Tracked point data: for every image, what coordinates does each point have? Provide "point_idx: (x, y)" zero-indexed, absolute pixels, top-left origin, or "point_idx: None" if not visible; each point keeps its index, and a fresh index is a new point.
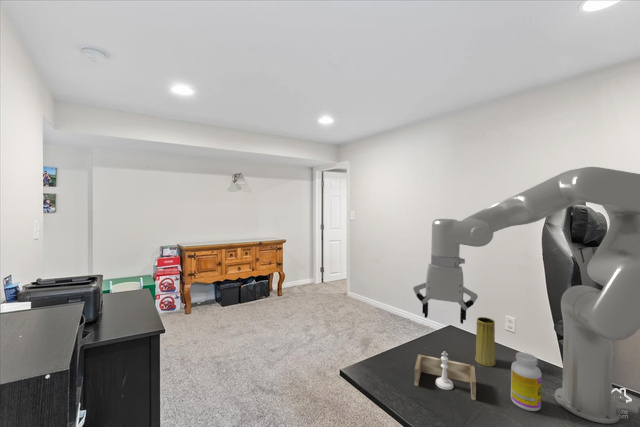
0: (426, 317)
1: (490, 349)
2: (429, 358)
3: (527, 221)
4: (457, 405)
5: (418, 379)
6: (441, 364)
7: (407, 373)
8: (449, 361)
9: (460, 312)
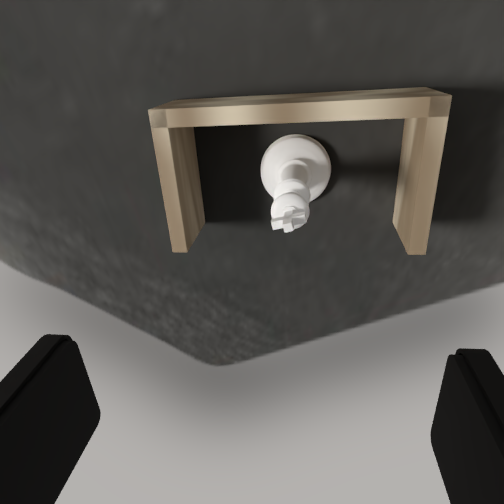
0: (93, 402)
1: None
2: (211, 125)
3: None
4: (340, 271)
5: (199, 216)
6: (276, 195)
7: (146, 154)
8: (314, 114)
9: (488, 457)
